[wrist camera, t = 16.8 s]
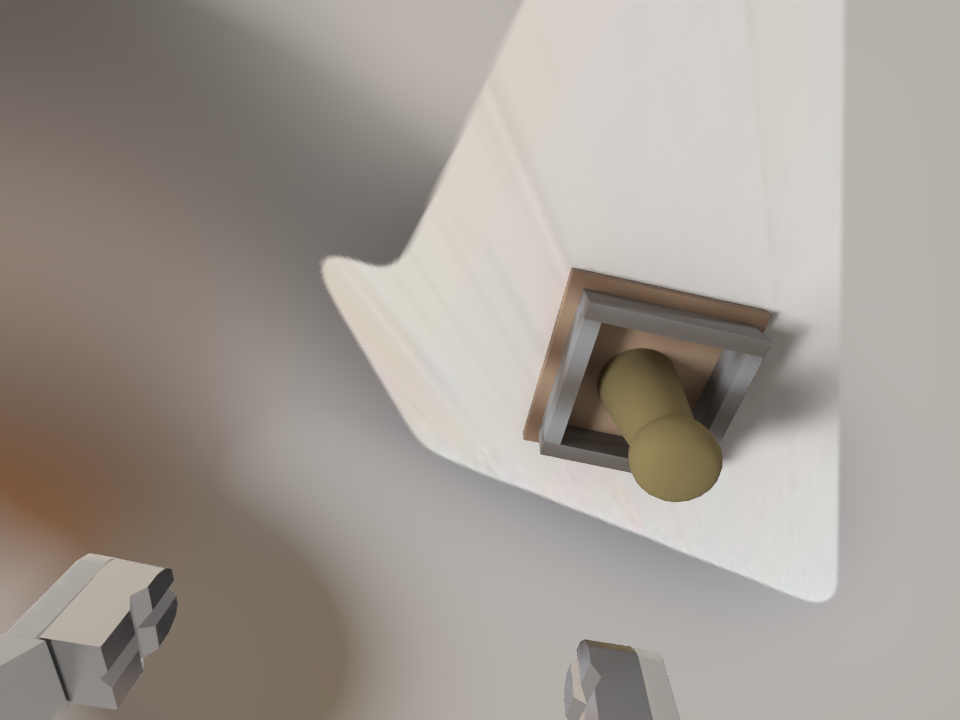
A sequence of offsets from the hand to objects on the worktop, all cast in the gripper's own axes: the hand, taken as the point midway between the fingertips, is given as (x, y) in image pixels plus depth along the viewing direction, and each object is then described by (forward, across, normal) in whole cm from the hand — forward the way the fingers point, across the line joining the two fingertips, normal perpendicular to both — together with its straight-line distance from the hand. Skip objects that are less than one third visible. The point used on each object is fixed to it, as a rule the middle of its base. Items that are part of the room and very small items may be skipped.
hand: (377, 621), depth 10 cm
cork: (+27, -14, +7) cm, 31 cm away
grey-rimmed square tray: (+28, -14, +7) cm, 32 cm away
